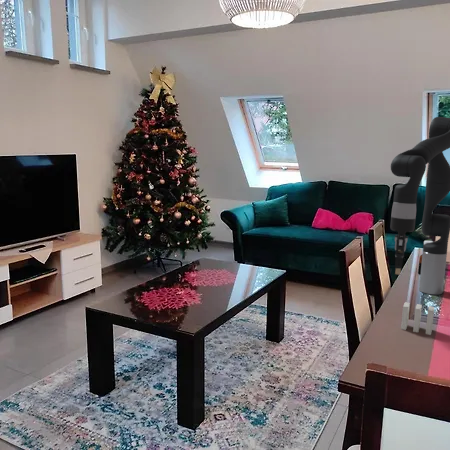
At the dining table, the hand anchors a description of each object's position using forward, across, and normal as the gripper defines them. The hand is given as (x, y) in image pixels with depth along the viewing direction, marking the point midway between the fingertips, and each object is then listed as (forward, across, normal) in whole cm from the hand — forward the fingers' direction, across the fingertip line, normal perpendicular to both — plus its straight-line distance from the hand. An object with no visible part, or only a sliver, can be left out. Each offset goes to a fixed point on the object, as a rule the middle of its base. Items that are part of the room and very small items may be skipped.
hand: (398, 266), depth 152 cm
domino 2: (+20, -1, -4) cm, 21 cm away
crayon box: (+18, +107, -14) cm, 109 cm away
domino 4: (+20, -2, -11) cm, 23 cm away
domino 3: (+20, -1, -7) cm, 22 cm away
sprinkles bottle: (+18, +92, -13) cm, 94 cm away
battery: (+19, +77, -11) cm, 80 cm away
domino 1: (+2, 0, 0) cm, 2 cm away
